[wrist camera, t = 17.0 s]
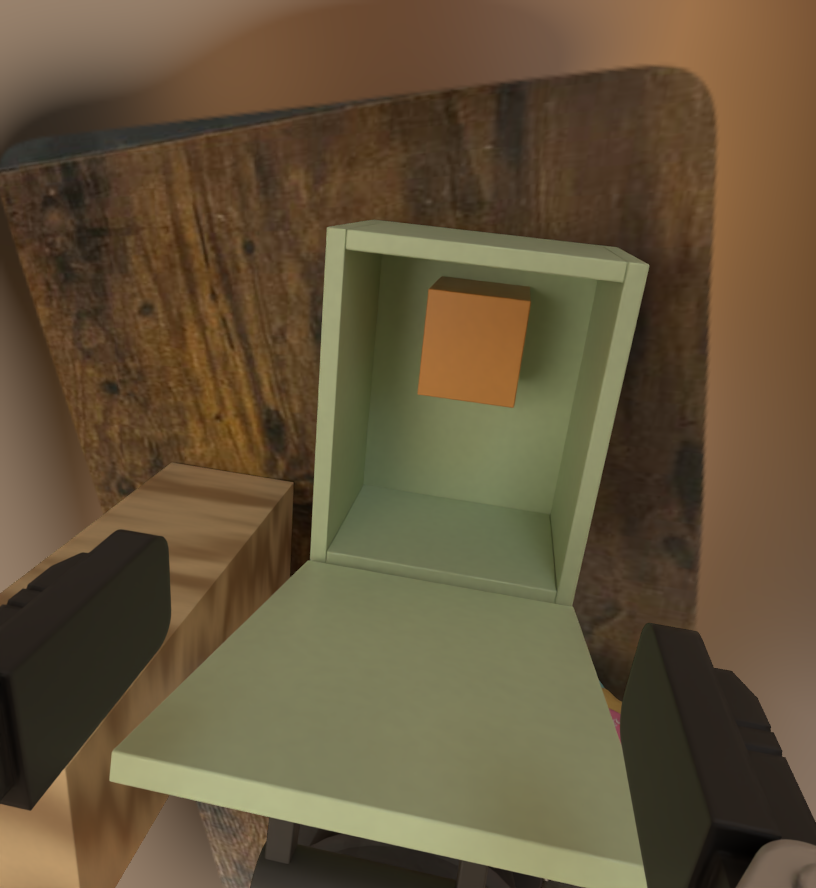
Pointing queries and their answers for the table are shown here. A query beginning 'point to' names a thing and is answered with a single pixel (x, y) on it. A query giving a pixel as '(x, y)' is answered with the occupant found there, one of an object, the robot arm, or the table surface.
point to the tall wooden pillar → (152, 662)
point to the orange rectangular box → (474, 341)
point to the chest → (466, 411)
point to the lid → (401, 735)
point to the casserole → (406, 857)
